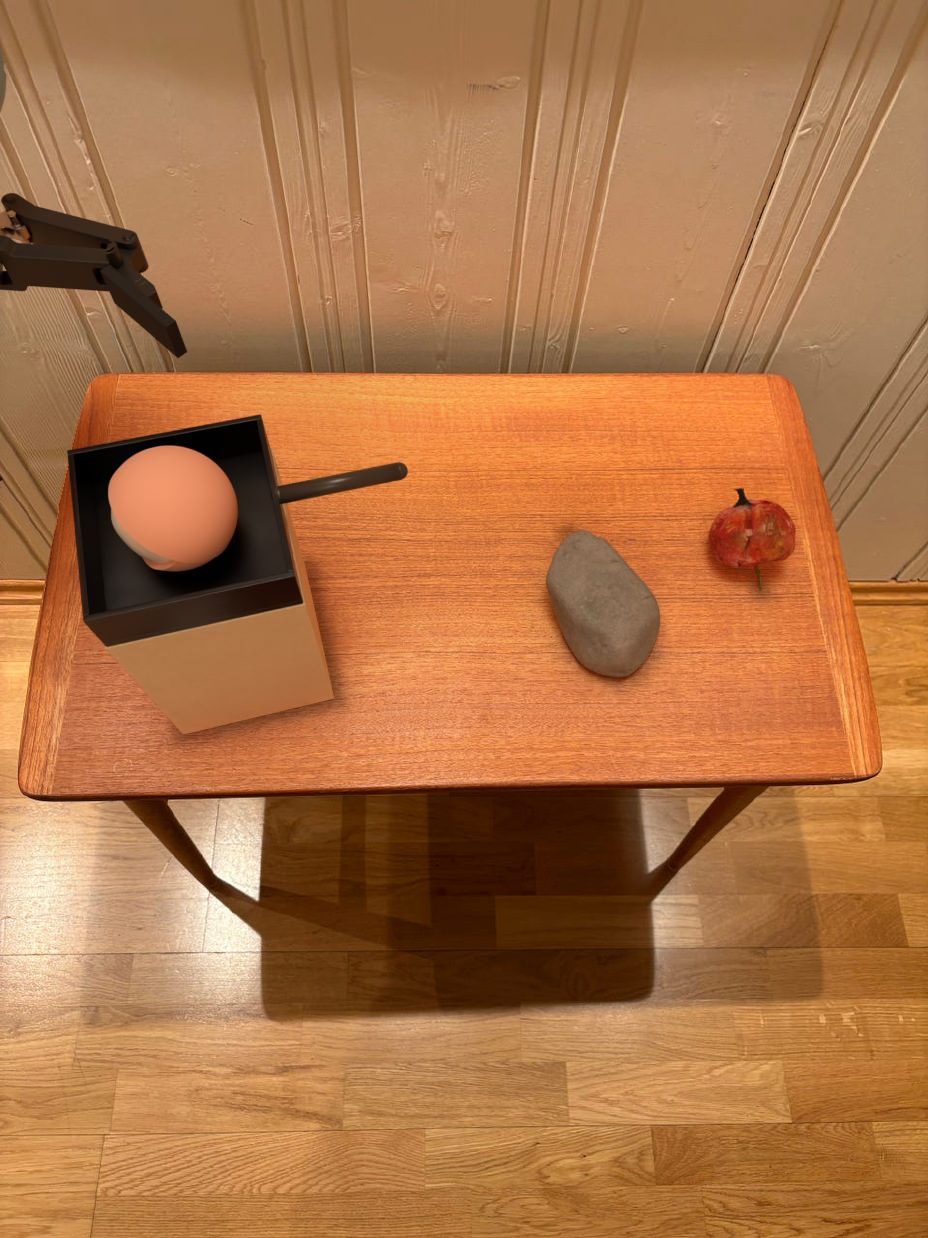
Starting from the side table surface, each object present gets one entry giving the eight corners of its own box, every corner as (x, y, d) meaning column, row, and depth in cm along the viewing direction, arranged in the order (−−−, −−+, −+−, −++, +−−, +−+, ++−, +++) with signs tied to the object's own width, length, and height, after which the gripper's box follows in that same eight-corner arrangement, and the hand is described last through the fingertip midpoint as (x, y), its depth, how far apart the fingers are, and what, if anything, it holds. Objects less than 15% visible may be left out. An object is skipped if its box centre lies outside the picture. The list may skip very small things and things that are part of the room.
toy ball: (123, 505, 58) (81, 434, 51) (235, 479, 59) (209, 406, 52) (141, 605, 55) (98, 545, 48) (259, 576, 56) (234, 513, 49)
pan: (106, 647, 54) (82, 621, 50) (89, 484, 59) (66, 449, 55) (430, 575, 57) (431, 545, 53) (388, 426, 62) (385, 389, 58)
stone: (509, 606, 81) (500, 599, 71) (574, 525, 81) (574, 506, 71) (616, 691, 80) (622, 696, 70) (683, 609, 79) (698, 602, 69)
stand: (183, 735, 71) (104, 649, 54) (164, 600, 76) (87, 483, 59) (334, 698, 73) (305, 604, 56) (306, 570, 78) (272, 447, 61)
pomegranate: (781, 575, 82) (769, 474, 80) (816, 590, 75) (805, 480, 73) (707, 591, 82) (693, 491, 80) (736, 608, 75) (722, 498, 73)
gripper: (69, 178, 63) (257, 334, 57) (-251, 362, 55) (-67, 564, 49) (26, 78, 56) (235, 244, 51) (-348, 271, 48) (-147, 493, 42)
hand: (86, 402), depth 50 cm, fingers open, 13 cm apart
